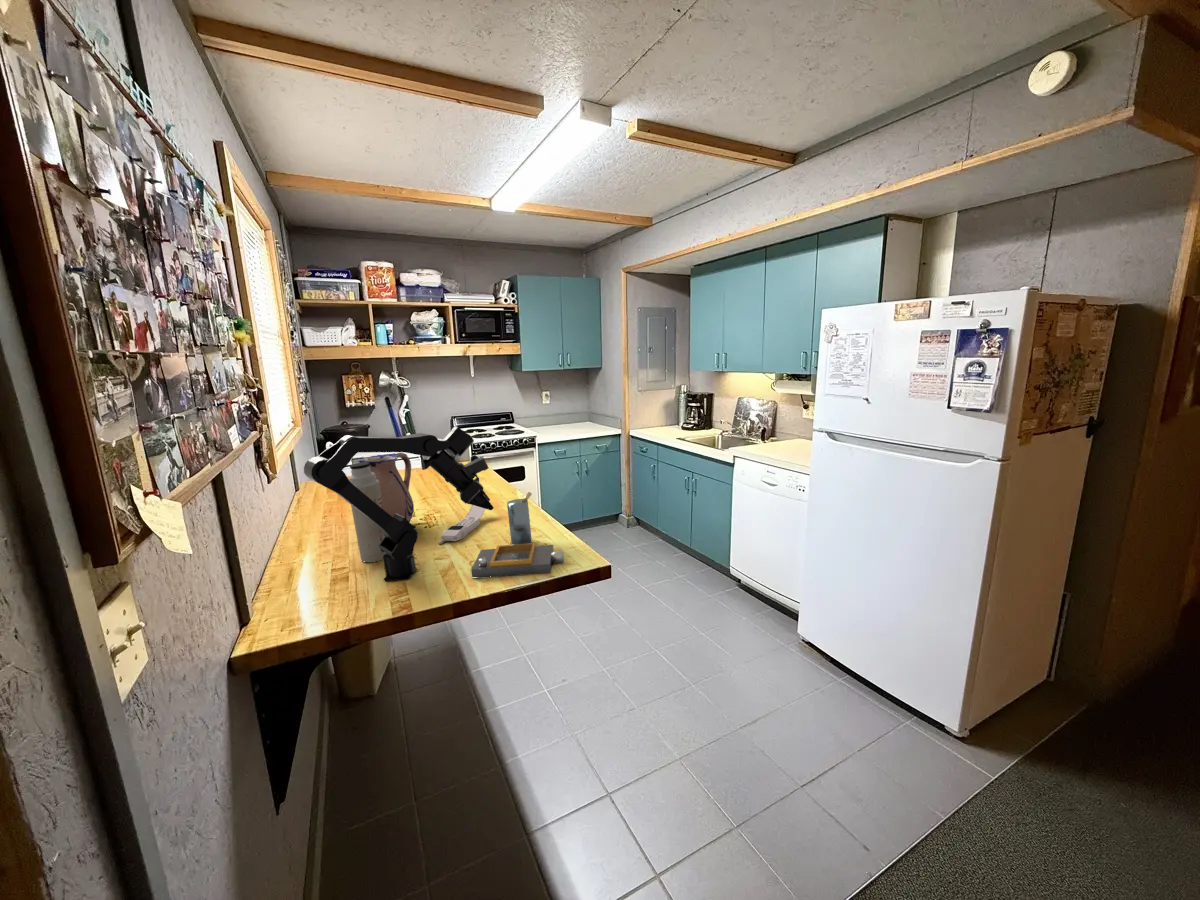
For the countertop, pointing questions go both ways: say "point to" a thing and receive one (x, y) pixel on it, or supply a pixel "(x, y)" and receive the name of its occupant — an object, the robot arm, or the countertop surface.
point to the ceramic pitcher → (393, 483)
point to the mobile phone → (463, 525)
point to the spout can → (519, 520)
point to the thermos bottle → (365, 528)
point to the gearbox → (516, 560)
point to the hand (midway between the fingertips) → (490, 504)
